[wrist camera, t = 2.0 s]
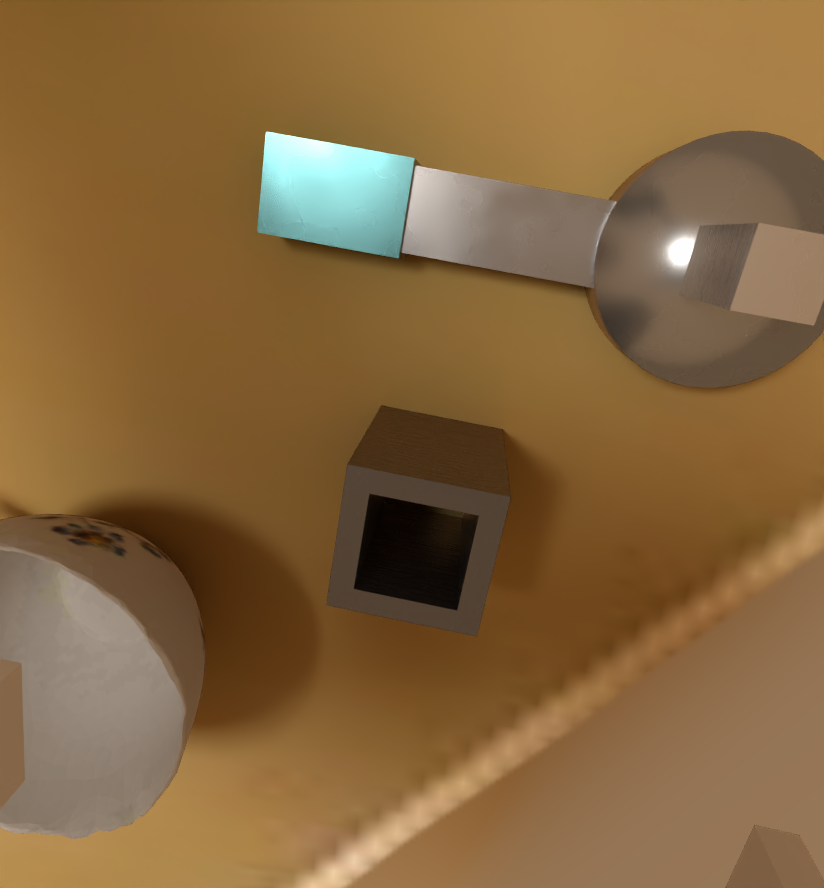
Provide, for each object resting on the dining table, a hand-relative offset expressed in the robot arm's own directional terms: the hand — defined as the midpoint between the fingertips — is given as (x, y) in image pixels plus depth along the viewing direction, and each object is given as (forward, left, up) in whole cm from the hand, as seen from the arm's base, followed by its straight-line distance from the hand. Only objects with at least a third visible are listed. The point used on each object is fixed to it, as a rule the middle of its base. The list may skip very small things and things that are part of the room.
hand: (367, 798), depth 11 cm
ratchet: (-10, +2, -16) cm, 19 cm away
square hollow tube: (0, 0, -16) cm, 16 cm away
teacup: (+8, -14, -16) cm, 23 cm away
